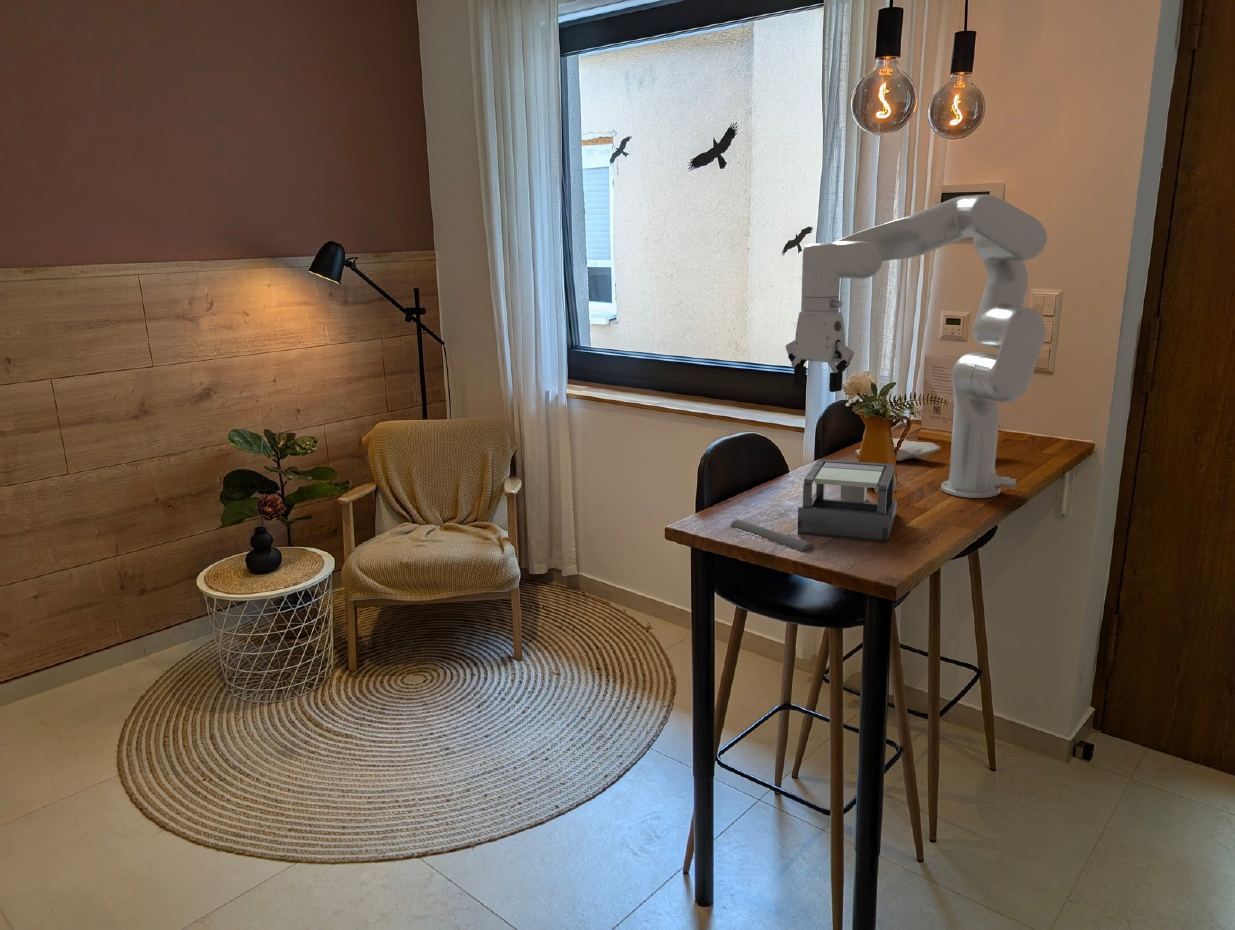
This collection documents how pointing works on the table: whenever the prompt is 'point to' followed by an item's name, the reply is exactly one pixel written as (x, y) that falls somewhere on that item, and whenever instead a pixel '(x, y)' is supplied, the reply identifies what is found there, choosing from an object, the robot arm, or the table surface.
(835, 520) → the trapdoor frame
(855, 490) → the matte off-white cube
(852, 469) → the trapdoor
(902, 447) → the rock
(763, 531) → the gray half cylinder
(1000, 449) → the table surface
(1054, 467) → the table surface
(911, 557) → the table surface
